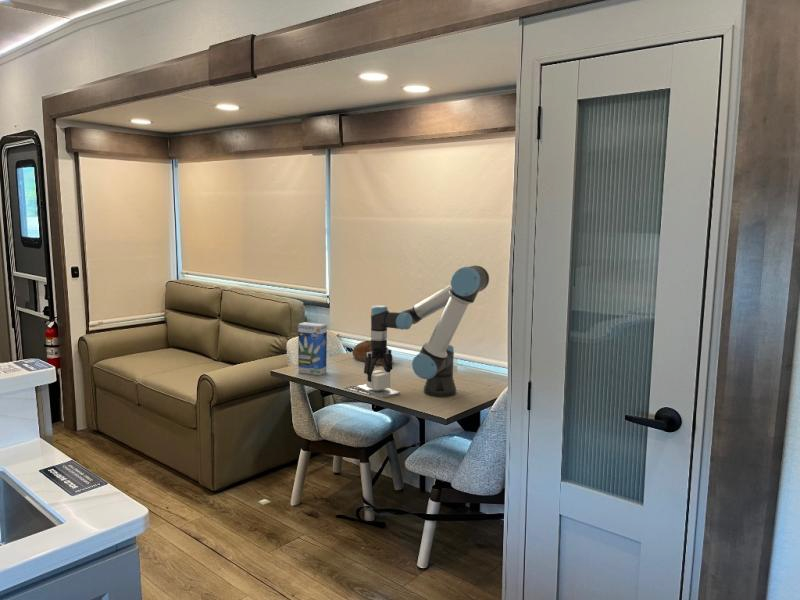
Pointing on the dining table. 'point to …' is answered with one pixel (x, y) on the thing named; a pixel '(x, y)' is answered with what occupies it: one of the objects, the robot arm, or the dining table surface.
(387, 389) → the duct stub
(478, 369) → the dining table surface
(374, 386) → the white cardboard box
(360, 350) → the bread
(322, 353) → the string lights box
